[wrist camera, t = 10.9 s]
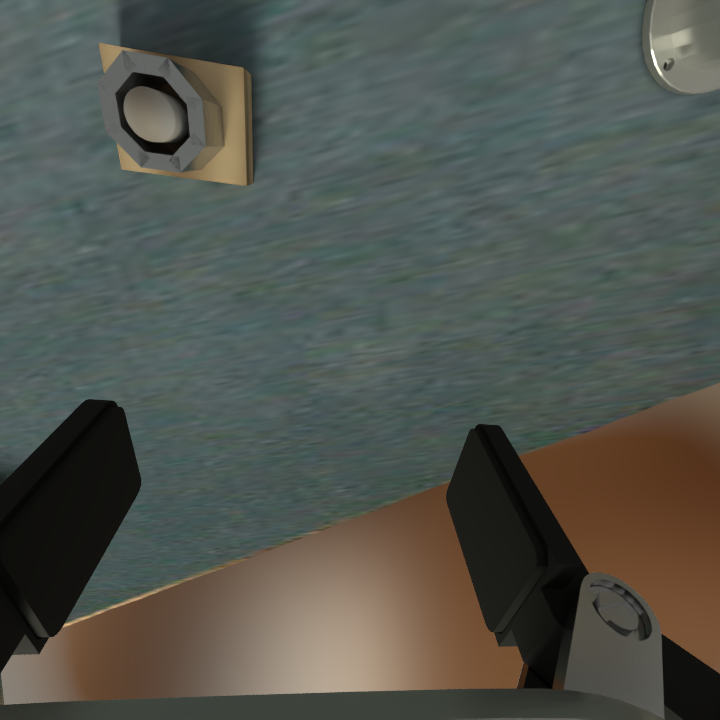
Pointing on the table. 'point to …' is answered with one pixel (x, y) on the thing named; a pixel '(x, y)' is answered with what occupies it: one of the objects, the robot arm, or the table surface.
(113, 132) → the tube
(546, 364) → the table surface
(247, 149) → the shaft block
